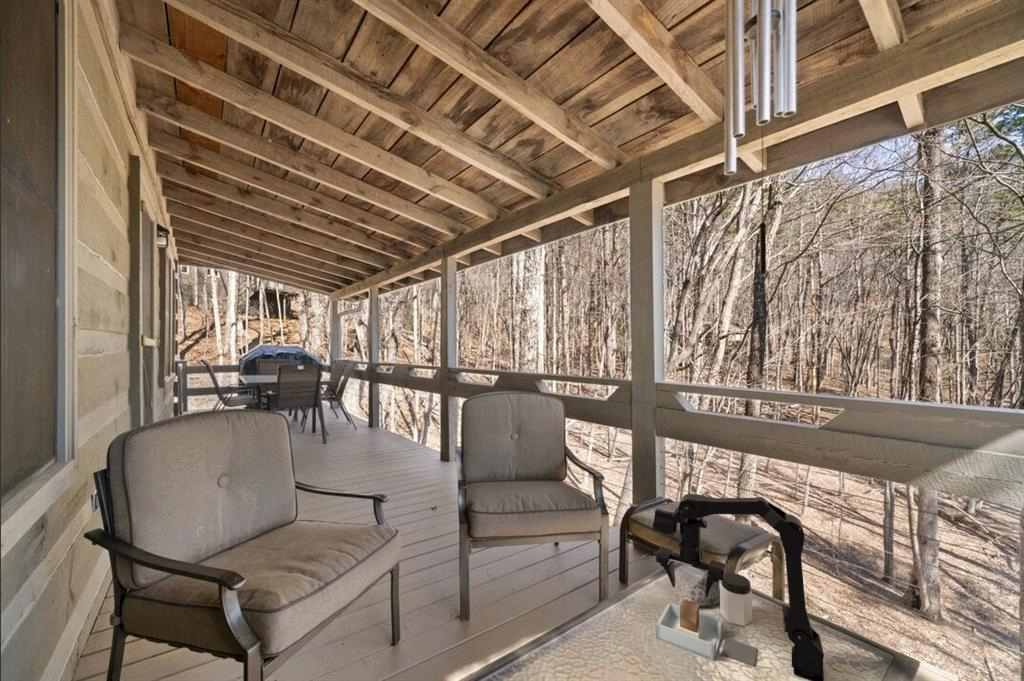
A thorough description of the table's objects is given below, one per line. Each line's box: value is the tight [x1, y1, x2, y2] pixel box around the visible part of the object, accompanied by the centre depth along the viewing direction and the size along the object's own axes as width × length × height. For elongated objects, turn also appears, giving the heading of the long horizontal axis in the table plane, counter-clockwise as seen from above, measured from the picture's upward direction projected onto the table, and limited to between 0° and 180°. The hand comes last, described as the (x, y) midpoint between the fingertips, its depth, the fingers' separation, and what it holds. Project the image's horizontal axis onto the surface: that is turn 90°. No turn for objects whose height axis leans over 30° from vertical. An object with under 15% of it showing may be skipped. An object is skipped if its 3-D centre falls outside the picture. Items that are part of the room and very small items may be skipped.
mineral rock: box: [689, 570, 720, 607], centre depth 145 cm, size 13×11×10 cm
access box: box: [655, 602, 723, 661], centre depth 127 cm, size 16×14×4 cm
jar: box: [719, 572, 753, 627], centre depth 136 cm, size 9×8×12 cm
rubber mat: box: [720, 636, 758, 668], centre depth 120 cm, size 8×8×1 cm
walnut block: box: [679, 599, 700, 633], centre depth 127 cm, size 4×4×6 cm
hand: (690, 591), depth 127 cm, fingers open, 9 cm apart
